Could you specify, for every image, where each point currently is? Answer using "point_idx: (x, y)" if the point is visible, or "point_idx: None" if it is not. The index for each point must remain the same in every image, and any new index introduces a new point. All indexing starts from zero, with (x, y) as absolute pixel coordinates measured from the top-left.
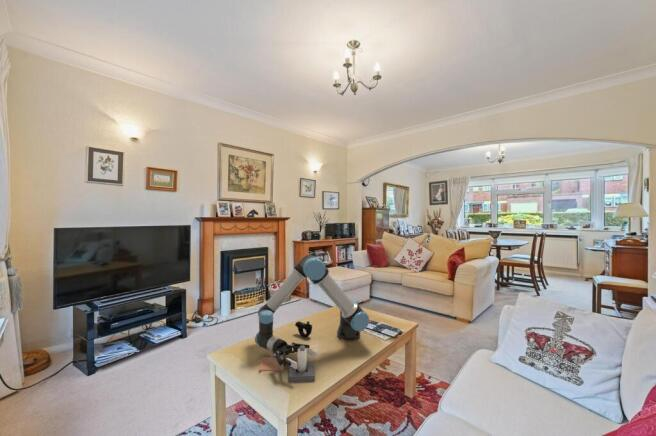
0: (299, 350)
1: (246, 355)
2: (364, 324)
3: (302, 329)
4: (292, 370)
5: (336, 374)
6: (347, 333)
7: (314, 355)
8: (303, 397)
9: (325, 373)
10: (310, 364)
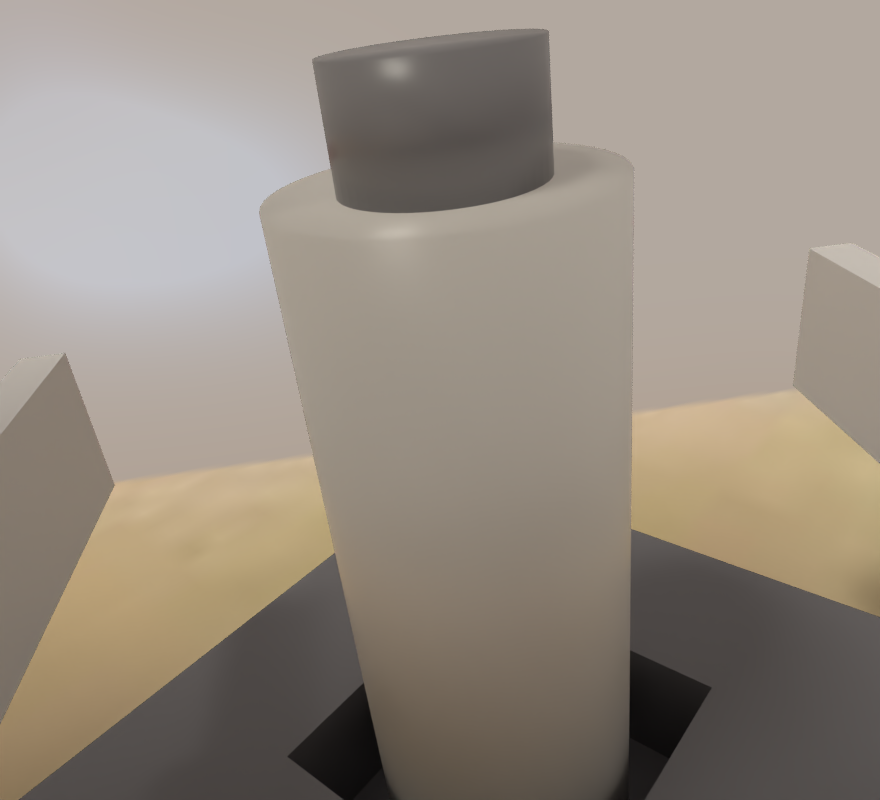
0: (575, 173)
1: None
2: None
3: None
4: None
5: (97, 528)
6: None
7: (87, 466)
8: (776, 434)
9: (153, 613)
10: (181, 751)
